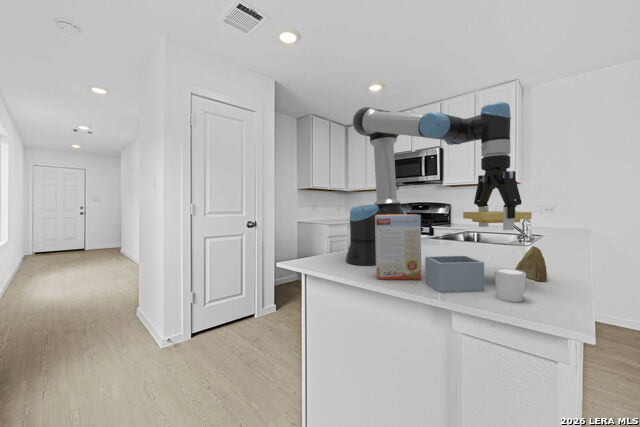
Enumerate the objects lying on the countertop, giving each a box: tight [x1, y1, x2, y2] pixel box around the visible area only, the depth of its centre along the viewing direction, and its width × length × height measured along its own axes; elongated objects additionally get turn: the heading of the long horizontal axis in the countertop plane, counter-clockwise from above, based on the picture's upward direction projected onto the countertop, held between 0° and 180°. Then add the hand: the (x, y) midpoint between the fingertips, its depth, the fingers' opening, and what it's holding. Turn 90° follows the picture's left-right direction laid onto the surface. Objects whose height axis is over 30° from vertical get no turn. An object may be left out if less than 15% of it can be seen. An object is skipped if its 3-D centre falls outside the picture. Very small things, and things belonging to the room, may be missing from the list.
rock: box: [514, 245, 548, 282], centre depth 92 cm, size 11×9×10 cm
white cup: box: [493, 268, 526, 303], centre depth 74 cm, size 7×7×7 cm
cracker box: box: [375, 213, 422, 281], centre depth 94 cm, size 14×6×21 cm, turn 84°
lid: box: [462, 210, 532, 224], centre depth 88 cm, size 11×14×3 cm
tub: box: [424, 255, 485, 293], centre depth 84 cm, size 10×13×8 cm
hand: (495, 228), depth 88 cm, fingers closed on lid, 11 cm apart
